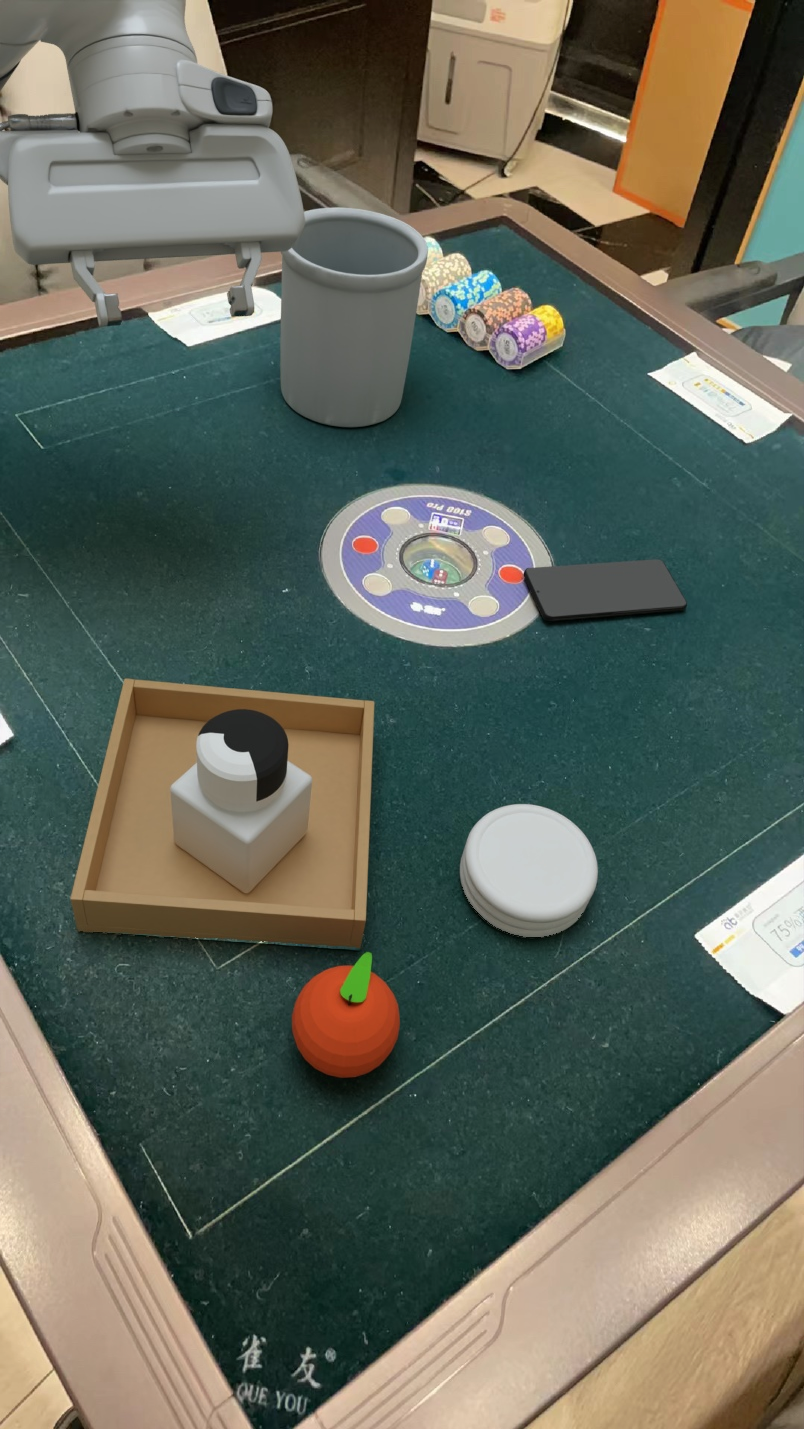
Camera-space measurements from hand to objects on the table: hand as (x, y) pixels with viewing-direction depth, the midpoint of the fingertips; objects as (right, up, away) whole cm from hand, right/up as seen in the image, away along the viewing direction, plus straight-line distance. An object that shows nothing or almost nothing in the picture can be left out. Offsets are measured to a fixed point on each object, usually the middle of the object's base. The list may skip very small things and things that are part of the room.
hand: (178, 319), depth 75 cm
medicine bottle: (+4, -37, +3) cm, 38 cm away
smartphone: (+35, -16, +27) cm, 48 cm away
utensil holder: (+9, +8, +44) cm, 45 cm away
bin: (+3, -37, +5) cm, 37 cm away
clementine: (+12, -50, -4) cm, 51 cm away
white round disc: (+25, -41, +5) cm, 48 cm away
